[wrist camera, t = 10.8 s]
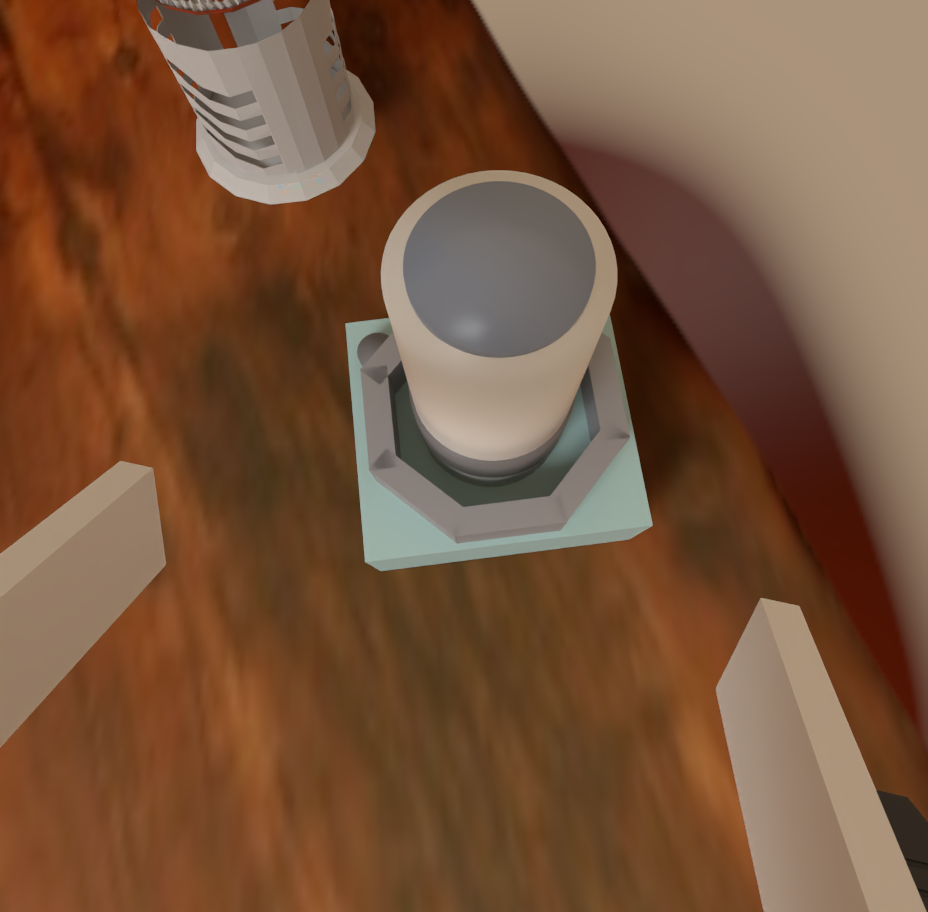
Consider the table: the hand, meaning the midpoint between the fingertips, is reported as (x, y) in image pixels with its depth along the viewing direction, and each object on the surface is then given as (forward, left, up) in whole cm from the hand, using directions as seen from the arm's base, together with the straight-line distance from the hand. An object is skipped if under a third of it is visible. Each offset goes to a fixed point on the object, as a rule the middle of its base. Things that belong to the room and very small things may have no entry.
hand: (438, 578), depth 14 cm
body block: (-7, +2, -14) cm, 16 cm away
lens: (-7, +2, -10) cm, 12 cm away
